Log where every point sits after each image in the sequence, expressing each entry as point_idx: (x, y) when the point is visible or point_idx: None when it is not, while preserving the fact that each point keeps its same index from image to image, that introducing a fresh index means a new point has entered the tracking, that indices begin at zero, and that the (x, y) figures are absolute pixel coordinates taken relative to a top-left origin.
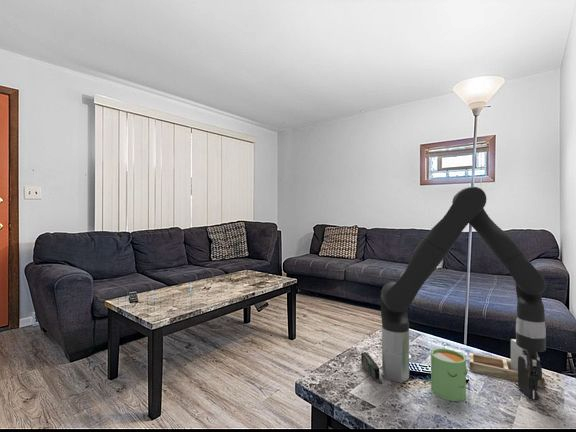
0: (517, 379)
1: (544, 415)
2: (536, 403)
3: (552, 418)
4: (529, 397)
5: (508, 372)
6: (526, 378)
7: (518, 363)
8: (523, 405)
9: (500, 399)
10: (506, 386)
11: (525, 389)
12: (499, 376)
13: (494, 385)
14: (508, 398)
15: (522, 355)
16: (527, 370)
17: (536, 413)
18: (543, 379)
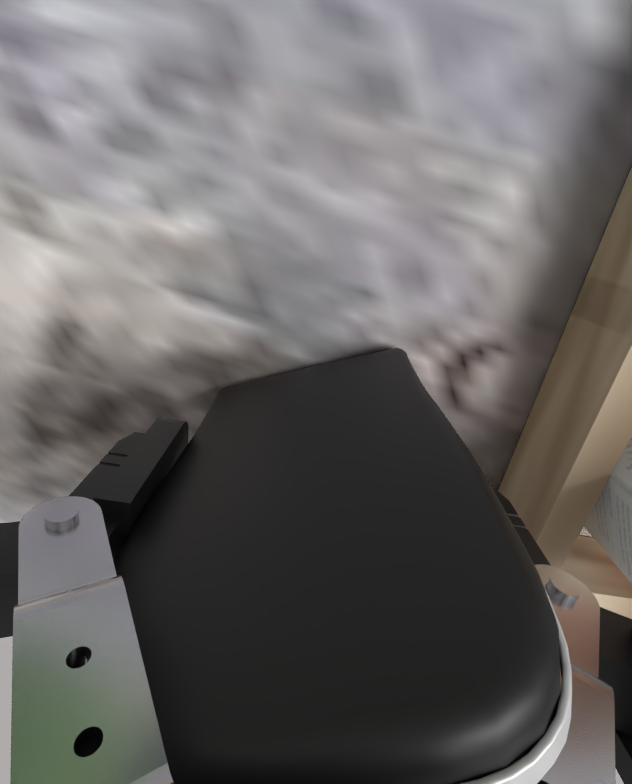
0: (550, 388)
1: (14, 406)
2: (177, 409)
3: (5, 444)
4: (229, 386)
5: (620, 327)
6: (241, 462)
7: (465, 512)
8: (82, 295)
9: (74, 85)
10: (403, 241)
11: (279, 390)
12: (614, 222)
13: (387, 99)
14: (144, 187)
15: (611, 772)
16: (180, 564)
17: (6, 359)
18: None
